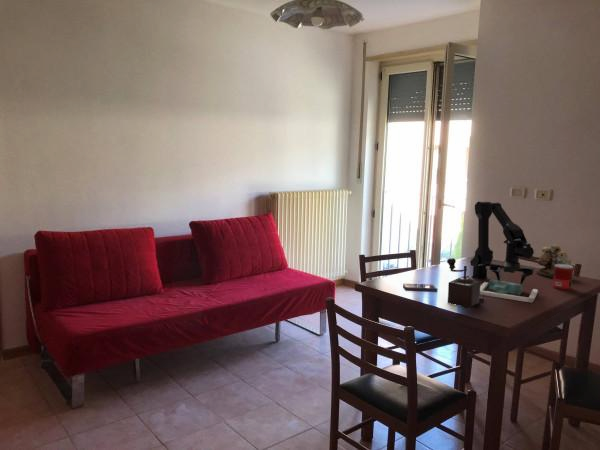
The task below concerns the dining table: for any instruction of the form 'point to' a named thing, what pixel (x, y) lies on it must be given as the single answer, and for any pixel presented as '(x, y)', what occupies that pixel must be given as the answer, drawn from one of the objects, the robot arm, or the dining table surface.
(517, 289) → the T block
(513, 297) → the outline
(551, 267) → the khaki lumpy piece
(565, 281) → the red tapered cylinder
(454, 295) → the manual coffee grinder
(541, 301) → the dining table surface
